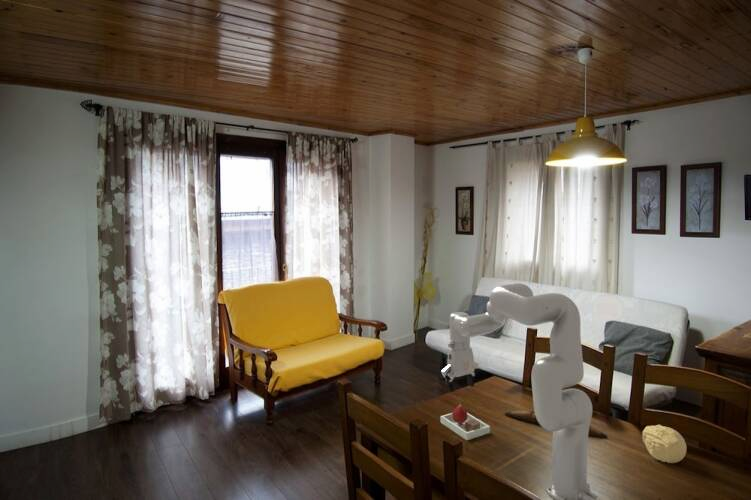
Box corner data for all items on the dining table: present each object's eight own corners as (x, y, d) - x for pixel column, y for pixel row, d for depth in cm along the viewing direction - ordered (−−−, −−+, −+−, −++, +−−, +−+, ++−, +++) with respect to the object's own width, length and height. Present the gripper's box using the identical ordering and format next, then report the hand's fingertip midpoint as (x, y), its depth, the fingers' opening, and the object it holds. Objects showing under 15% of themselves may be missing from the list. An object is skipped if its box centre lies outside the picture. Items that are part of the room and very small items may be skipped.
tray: (489, 434, 170) (489, 426, 170) (466, 442, 165) (466, 433, 165) (462, 417, 184) (462, 409, 184) (440, 424, 179) (440, 416, 179)
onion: (450, 425, 176) (450, 406, 175) (454, 419, 181) (454, 400, 180) (465, 429, 173) (465, 409, 173) (469, 422, 178) (469, 403, 178)
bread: (502, 418, 184) (502, 406, 184) (506, 413, 189) (506, 401, 188) (607, 442, 164) (607, 429, 164) (608, 436, 169) (608, 423, 168)
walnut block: (479, 432, 170) (480, 422, 170) (473, 436, 168) (473, 425, 168) (471, 428, 174) (471, 418, 173) (464, 432, 171) (464, 421, 171)
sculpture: (636, 452, 157) (637, 423, 156) (661, 446, 161) (662, 416, 160) (667, 470, 146) (669, 438, 145) (693, 462, 150) (695, 431, 149)
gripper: (447, 350, 167) (448, 396, 168) (483, 343, 175) (484, 386, 176) (435, 346, 174) (436, 389, 175) (471, 339, 182) (471, 381, 183)
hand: (460, 388), depth 176 cm, fingers open, 9 cm apart
